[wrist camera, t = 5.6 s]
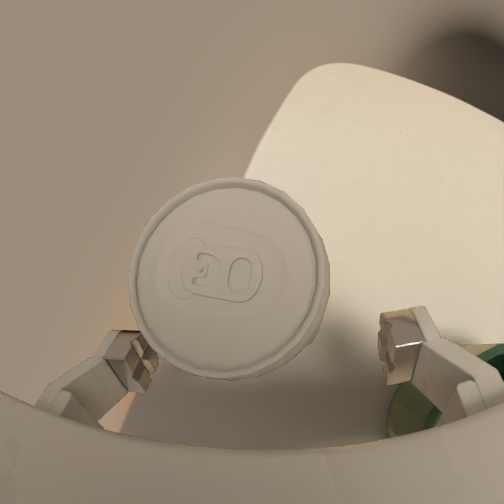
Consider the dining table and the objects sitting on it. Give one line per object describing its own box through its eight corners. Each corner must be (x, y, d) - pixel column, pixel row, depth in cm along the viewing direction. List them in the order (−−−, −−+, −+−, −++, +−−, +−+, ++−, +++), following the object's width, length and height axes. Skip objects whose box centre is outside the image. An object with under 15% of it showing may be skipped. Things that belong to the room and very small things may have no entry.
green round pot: (393, 485, 12) (417, 531, 7) (376, 372, 15) (405, 386, 10) (499, 435, 11) (546, 455, 6) (487, 327, 14) (541, 316, 8)
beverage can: (249, 272, 19) (153, 170, 7) (326, 282, 17) (342, 178, 6) (235, 348, 17) (106, 351, 6) (314, 362, 16) (310, 407, 5)
